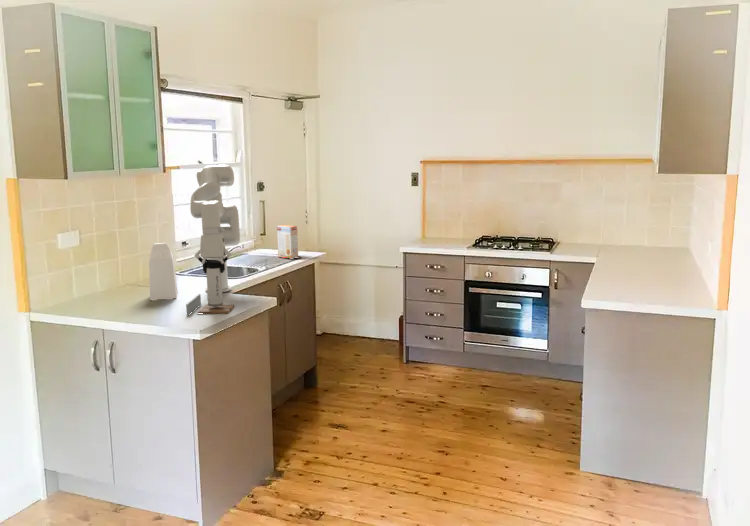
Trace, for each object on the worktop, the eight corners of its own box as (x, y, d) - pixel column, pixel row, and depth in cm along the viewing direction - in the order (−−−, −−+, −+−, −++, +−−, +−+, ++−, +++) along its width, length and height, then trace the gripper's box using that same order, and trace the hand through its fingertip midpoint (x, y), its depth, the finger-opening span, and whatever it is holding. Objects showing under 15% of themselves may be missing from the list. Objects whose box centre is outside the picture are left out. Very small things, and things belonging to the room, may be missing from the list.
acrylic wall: (199, 304, 304) (198, 294, 303) (201, 304, 304) (200, 294, 303) (186, 315, 284) (186, 304, 283) (188, 315, 284) (188, 304, 283)
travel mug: (209, 303, 296) (207, 258, 292) (224, 303, 295) (222, 258, 292) (205, 306, 290) (203, 261, 286) (220, 306, 289) (218, 261, 286)
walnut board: (205, 307, 299) (205, 304, 299) (234, 306, 299) (234, 304, 299) (197, 314, 286) (197, 311, 286) (228, 313, 286) (227, 311, 286)
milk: (177, 293, 328) (174, 241, 324) (176, 298, 317) (172, 244, 313) (152, 295, 326) (147, 242, 321) (150, 300, 315) (145, 245, 310)
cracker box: (298, 258, 425) (297, 226, 422) (291, 260, 421) (289, 226, 418) (285, 256, 435) (284, 224, 432) (278, 257, 431) (276, 225, 428)
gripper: (233, 229, 290) (235, 270, 294) (193, 230, 291) (196, 271, 294) (229, 232, 283) (232, 273, 286) (188, 232, 283) (191, 274, 286)
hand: (214, 272), depth 290 cm, fingers closed on travel mug, 6 cm apart
